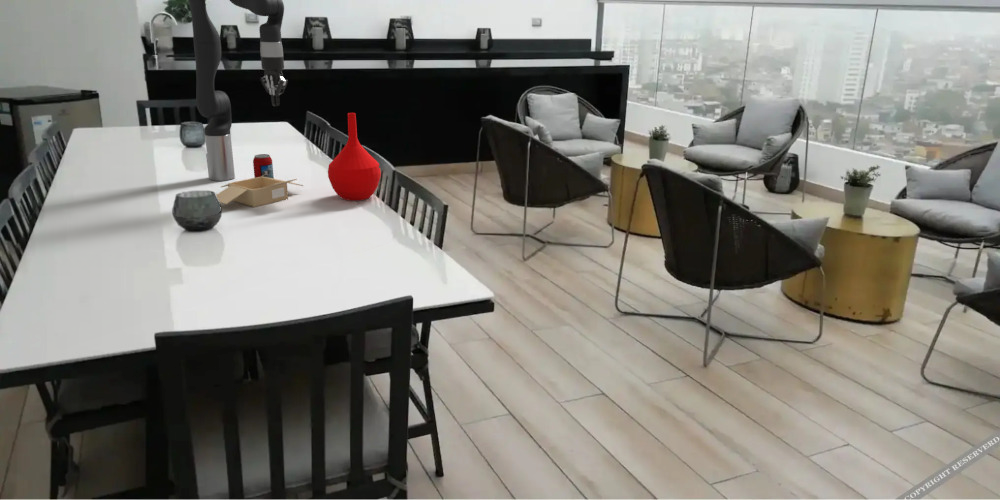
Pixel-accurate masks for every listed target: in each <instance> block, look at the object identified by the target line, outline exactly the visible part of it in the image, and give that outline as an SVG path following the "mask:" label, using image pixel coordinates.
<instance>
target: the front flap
mask: <svg viewBox="0 0 1000 500" xmlns="http://www.w3.org/2000/svg"><path fill="white" fill-rule="evenodd" d="M297 180H298V179H297V178H293V179H290V180H283V181H284V182H280V183H275V184H272V185H269V186H266V187H263V188H260V189H264V188H268V187H273V186H277V185H282V184H285V183H287V184H289V183H288V182H294V181H297Z"/></svg>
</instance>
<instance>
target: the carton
mask: <svg viewBox="0 0 1000 500" xmlns="http://www.w3.org/2000/svg"><path fill="white" fill-rule="evenodd" d="M284 181H285V180H283V179H276V178H274V179H273V178H268V177H263V176H262V177H257V178H255V177H251V178H248V179H247V178H245V179H241V180H236V181H232V182H229V183H227V184H225V185H221V186H219V187H220V188H221V189H222V188H225V187H226V188H228V187H229V186H231V185H232V186H236V187H240V188H243V189H247V191H246V192H244V193H243V194H241V195H240V196H238V197H237V198H235V199H233V200H232V201H231V202H234V203H237V204H242V205H245V206H249V207H252V208H258V207H261V206H266V205H271V204H274V203H278V202H282V200H283V201H287V200H289V193H288V192H289V191H288V184H291V185H296V186H300V187H304V185H303V184H299V183H295V182H293V181H291V182H288V183H285V184H282V185H277V186H273V187H268V188H264V189H260V188H263V187H266V186H269V185H272V184H275V183H280V182H284ZM286 199H287V200H286Z"/></svg>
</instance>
